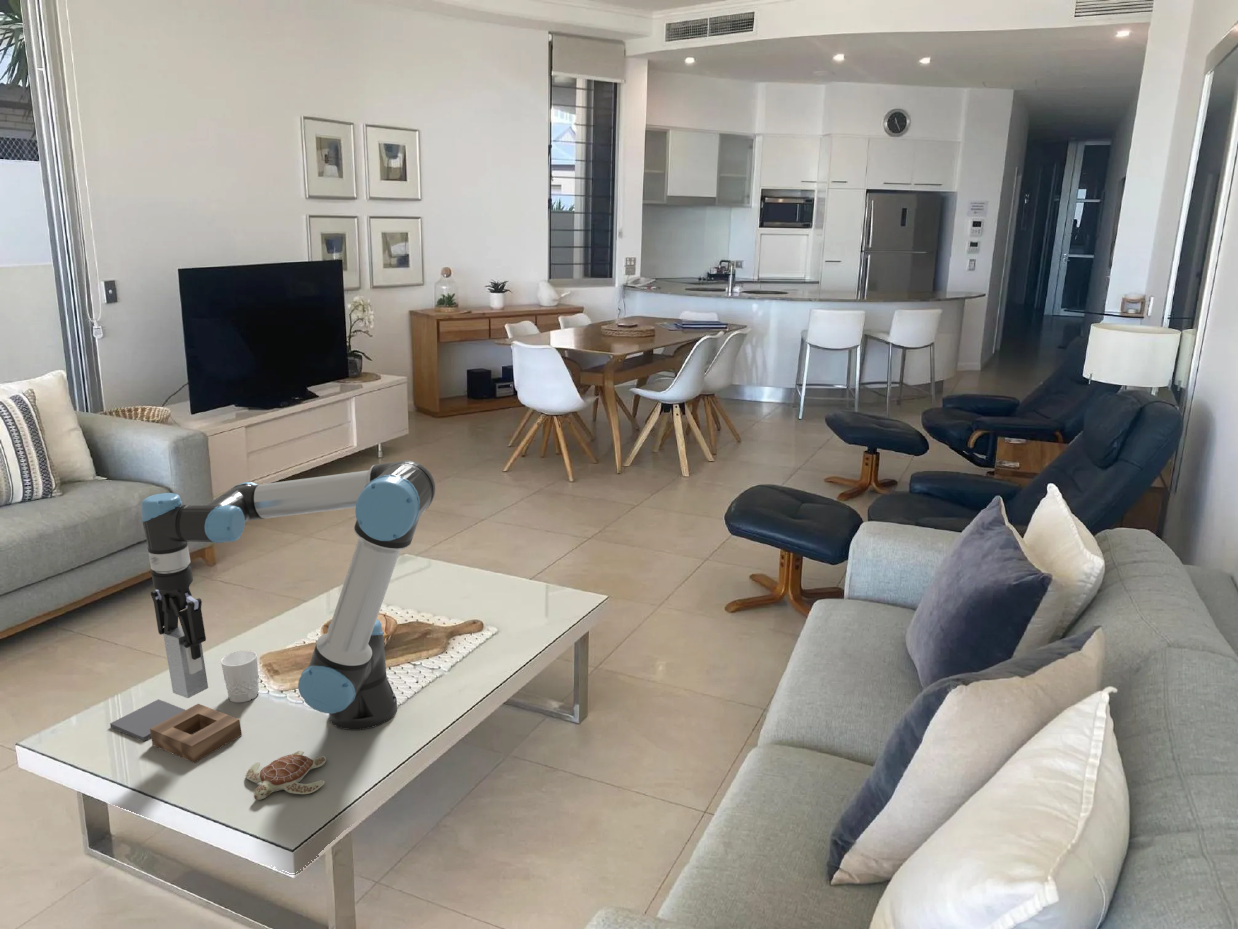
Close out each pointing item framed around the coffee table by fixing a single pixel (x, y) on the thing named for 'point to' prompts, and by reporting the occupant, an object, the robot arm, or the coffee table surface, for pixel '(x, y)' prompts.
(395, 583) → the coffee table surface
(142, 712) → the rubber mat
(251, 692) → the white cup
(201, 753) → the walnut holder
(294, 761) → the decorative turtle
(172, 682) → the metal peg
